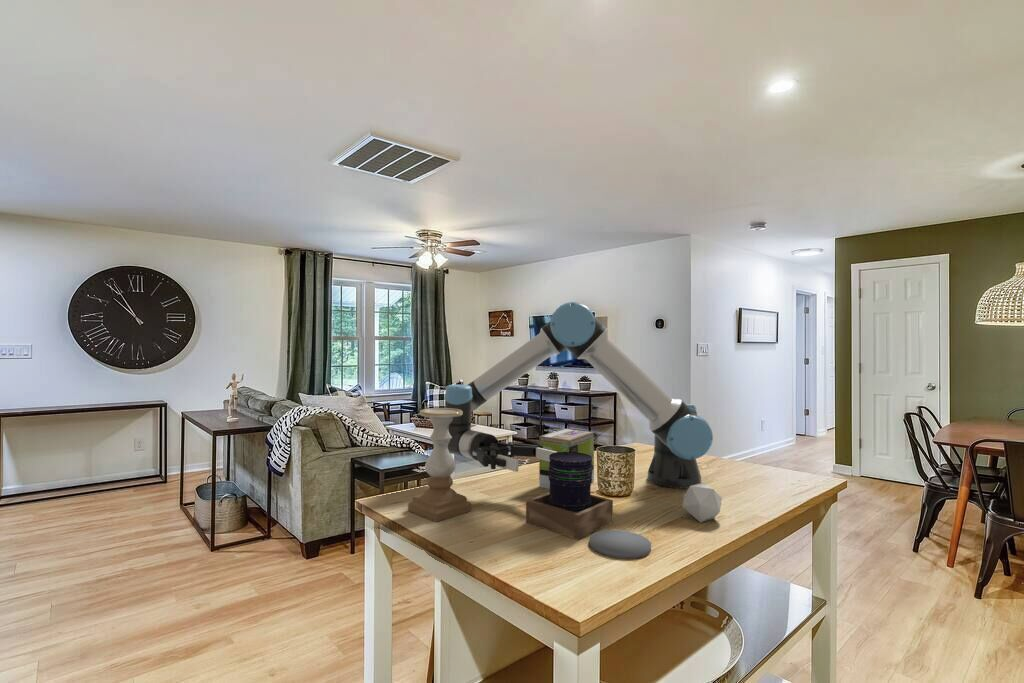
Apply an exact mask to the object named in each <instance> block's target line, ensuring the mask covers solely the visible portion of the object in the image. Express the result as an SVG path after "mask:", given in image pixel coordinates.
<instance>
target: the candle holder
mask: <svg viewBox="0 0 1024 683" xmlns="http://www.w3.org/2000/svg"><path fill="white" fill-rule="evenodd" d="M462 414H463V411H462V410H460V409H453V408H445V407H431V408H430V407H429V408H422V409H421V410H419V415H420V416H421V417H425V418H429V421H430V423H431V424H432V426H433V431H432V433H431V435H430V436H429V439H430V440H431V443H432V444H433V449H432V452H431V453H430V454H429V456H428V458H427V460H426V461H425V464H424V471H425V472H426V474H428V475H429V477H428V479H427V481H426V485H427V486H428V489H426V490H425V491H424V492H422V493H420V494H416V495H414V496H412V500H411V501H409V502H408V504H407V511H408V512H410V513H412V514H414V515H418V516H419V517H422V518H424V519H428V520H430V521H432V522H437V523H438V522H440V521H443V520H447V519H450V518H453V517H457V516H460V515H463V514H466V513H469V512H471V511H472V503H471V502H469V501H468V498H467V496H465V495H463V494H460V493H458V492H457V491H456V490H454V489H453V488H452V487H451V486H453V485H454V484H453V483H454V481H453V478H452V477H451V475H453V474H454V472H455V471H456V469H457V467H456V466H457V465H456V462H455V459H454V457H453V456H452V454H451V453H450V452H449V450H448V444H449V442H450V439H452V436H451V435H450V433H449V430H448V428H449V425H450V423H451V422H452V420H453V417H458V416H461V415H462Z"/></svg>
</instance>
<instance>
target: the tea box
mask: <svg viewBox="0 0 1024 683" xmlns="http://www.w3.org/2000/svg"><path fill="white" fill-rule="evenodd" d="M594 434H595V433H594V431H586V430H580V429H579V430H578V429H568V428H563V429H559V430H556V431H553V432H549V433H546V434H543V435H539V441H538V442H539V443H538V444H540V445H541V446H543V449H547V450H551V451H556V452H578V453H584V454H588V455H590V456H592V462H591V463H592V482H591V483H593V482H594V481H595V451H594V450H595V446H594V445H595V438H594V437H595V435H594ZM538 467H539V471H538V472H539V474H538V476H539V477H538V480H539V484H538V485H539V487H540V488H543V489H547V490H550V481H549V477H548V476H549V461H545V460H541V459H539V464H538Z"/></svg>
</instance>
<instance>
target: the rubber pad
mask: <svg viewBox="0 0 1024 683" xmlns="http://www.w3.org/2000/svg"><path fill="white" fill-rule="evenodd" d="M589 546H590V548H591V549H593V551H594V552H596V553H599V554H601V555H604V556H606V557H611V558H616V559H624V560H625V559H628V560H629V559H630V560H631V559H639V558H643V557H646V556H648V555H649V554H650V553H651V551H652V543H651V541H650V540H649V538H647V537H646V536H643V535H641V534H638V533H636V532H634V531H633V532H632V531H627V530H623V529H622V530H621V529H620V530H619V529H607V530H599V531H595V532H594V533H591V535H590V536H589Z"/></svg>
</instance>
